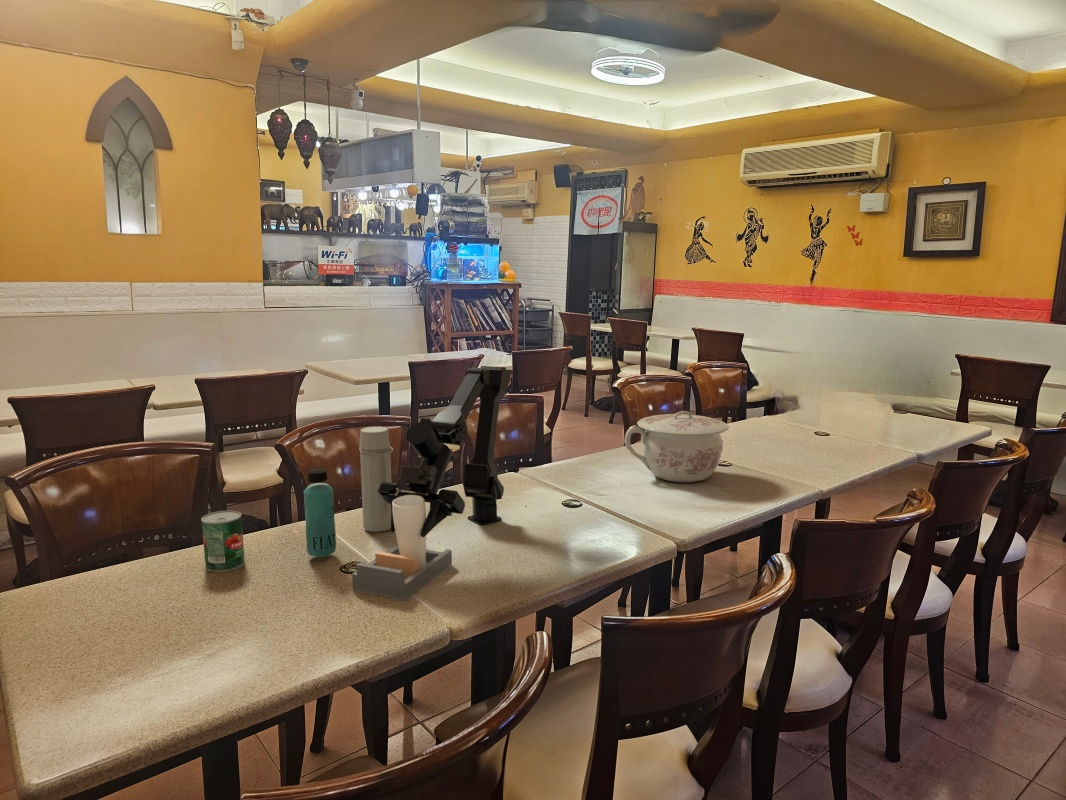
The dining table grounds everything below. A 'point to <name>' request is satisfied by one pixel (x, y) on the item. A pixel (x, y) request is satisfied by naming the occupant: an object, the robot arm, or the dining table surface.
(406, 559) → the block
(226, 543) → the canned tomato
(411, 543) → the drinking glass
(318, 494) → the beverage bottle
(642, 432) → the chamber pot
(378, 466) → the water bottle
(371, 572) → the gray tray
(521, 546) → the dining table surface
